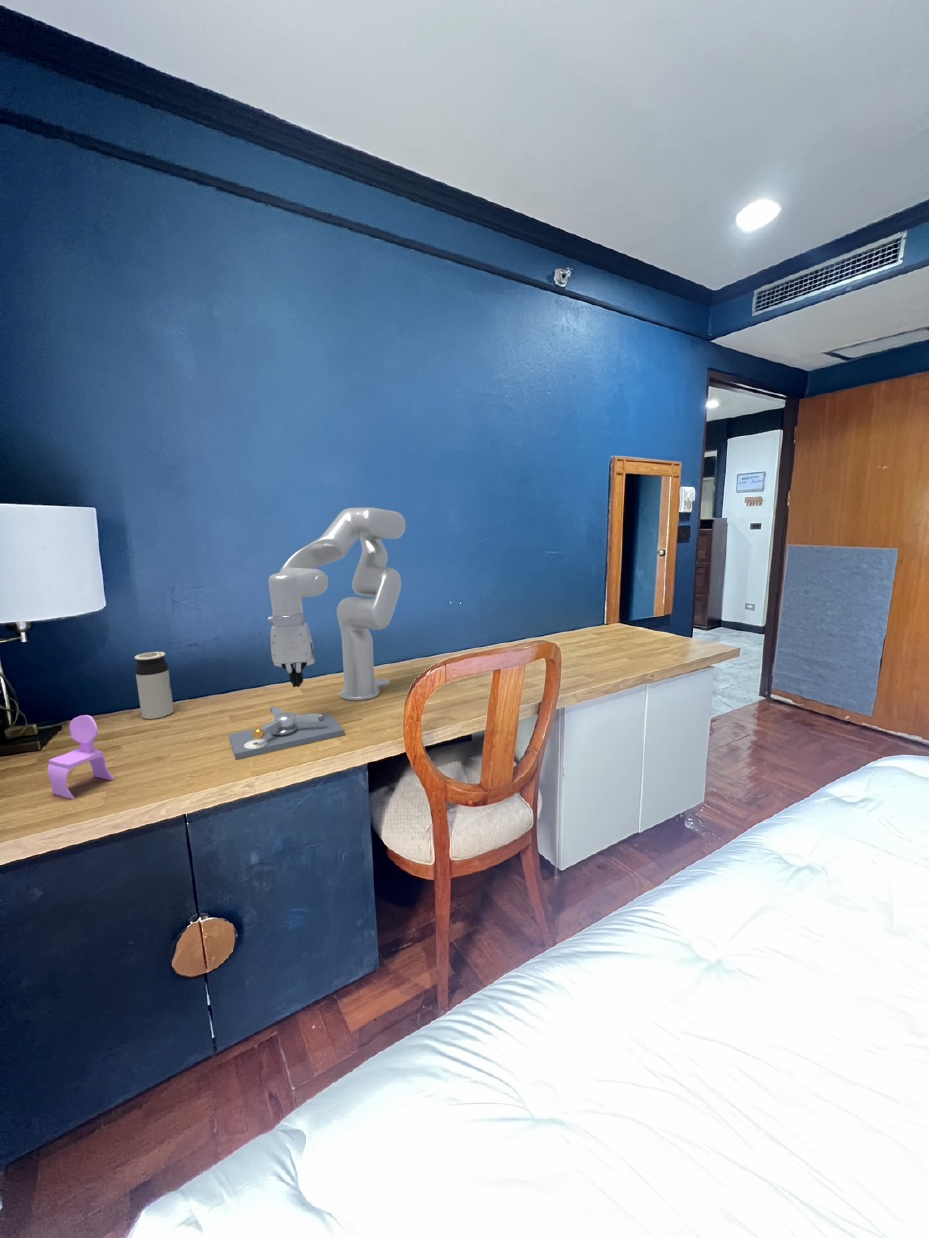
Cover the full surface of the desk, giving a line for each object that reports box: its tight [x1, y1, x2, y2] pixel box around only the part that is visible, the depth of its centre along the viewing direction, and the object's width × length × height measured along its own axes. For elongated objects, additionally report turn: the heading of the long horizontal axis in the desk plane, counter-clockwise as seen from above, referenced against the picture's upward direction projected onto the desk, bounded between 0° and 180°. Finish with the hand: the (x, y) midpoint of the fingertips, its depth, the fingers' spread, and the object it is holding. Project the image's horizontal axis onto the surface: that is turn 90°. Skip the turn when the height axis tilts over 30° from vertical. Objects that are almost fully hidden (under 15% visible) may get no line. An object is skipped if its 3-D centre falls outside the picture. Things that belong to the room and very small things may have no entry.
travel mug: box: [134, 651, 175, 720], centre depth 143 cm, size 8×8×18 cm
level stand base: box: [228, 713, 345, 760], centre depth 128 cm, size 26×13×2 cm, turn 121°
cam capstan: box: [253, 705, 325, 739], centre depth 126 cm, size 16×17×4 cm
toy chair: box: [47, 714, 115, 800], centre depth 103 cm, size 8×9×15 cm
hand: (297, 685), depth 135 cm, fingers closed
